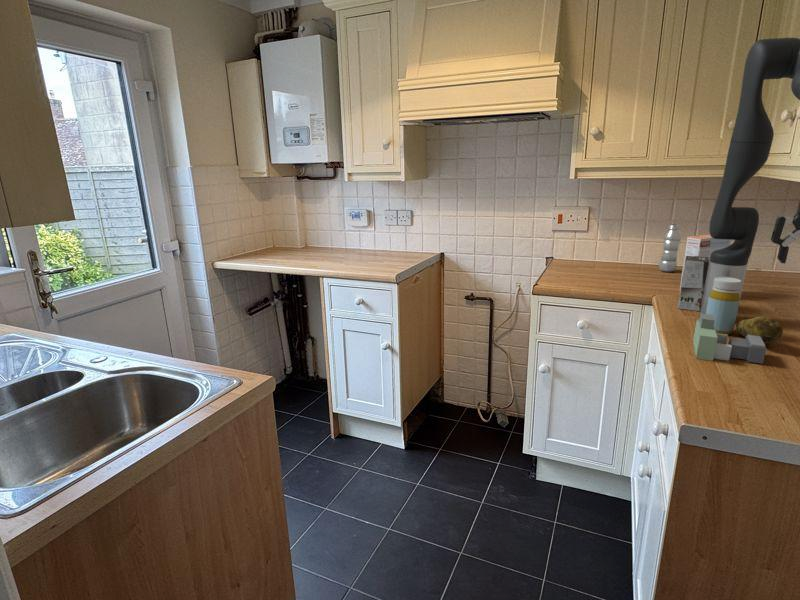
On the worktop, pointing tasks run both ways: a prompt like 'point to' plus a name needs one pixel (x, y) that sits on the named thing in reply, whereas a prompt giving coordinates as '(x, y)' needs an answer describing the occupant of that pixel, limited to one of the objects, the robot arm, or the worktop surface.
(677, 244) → the plastic bottle
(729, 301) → the bottle
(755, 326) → the potato
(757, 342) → the grey stepped block
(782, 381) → the worktop surface
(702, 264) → the coffee box
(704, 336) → the green block cluster
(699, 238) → the cracker box
